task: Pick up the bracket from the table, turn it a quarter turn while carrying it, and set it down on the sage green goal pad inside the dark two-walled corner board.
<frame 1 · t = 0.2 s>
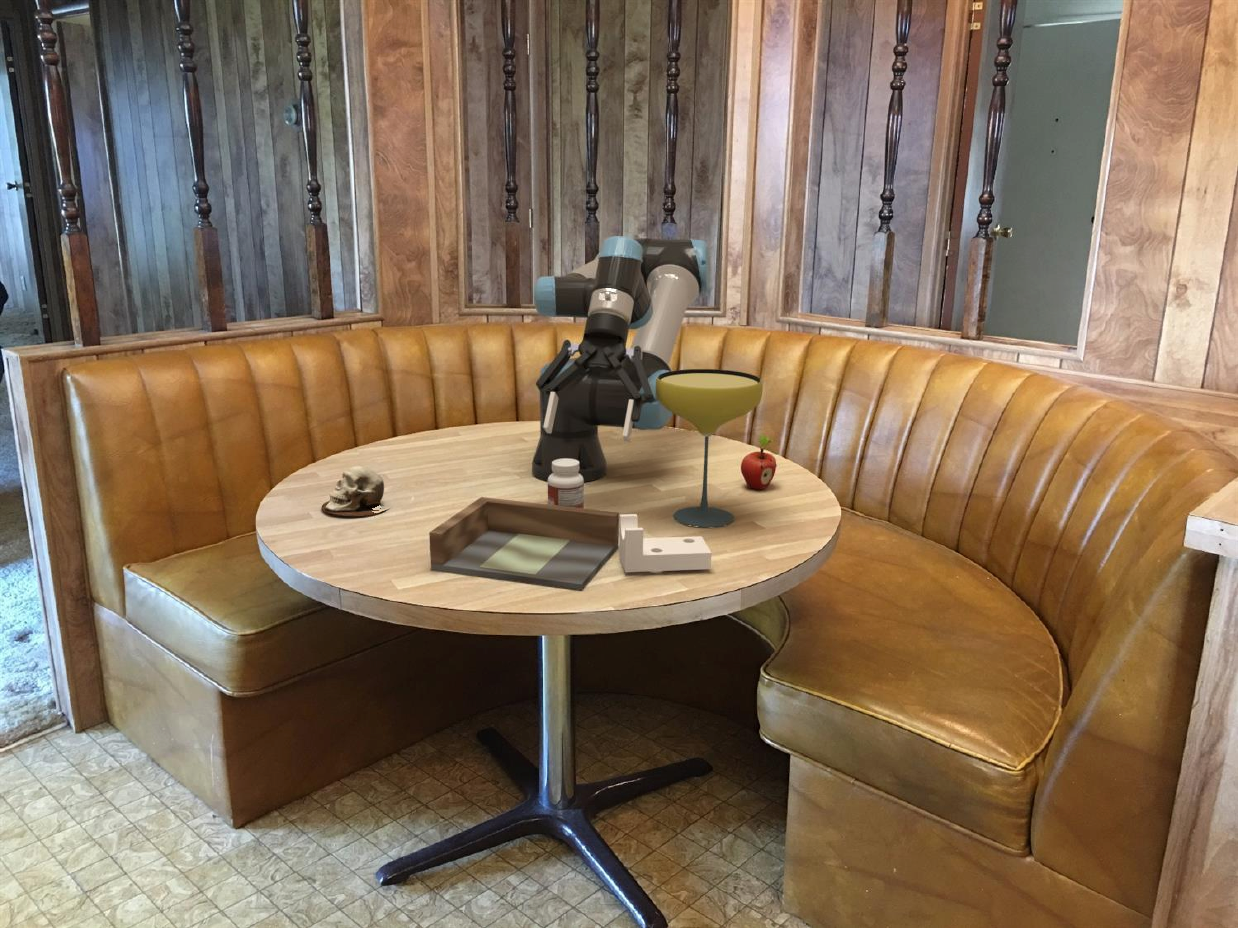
hand: (586, 434, 155), 16 cm above the table, tool tilted 35°, fingers open, 13 cm apart
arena: (527, 558, 145), on the table
skull: (356, 509, 167), on the table
apple: (756, 488, 182), on the table
cocktail glass: (703, 518, 164), on the table
bracket: (664, 568, 143), on the table
pill bottle: (565, 524, 161), on the table
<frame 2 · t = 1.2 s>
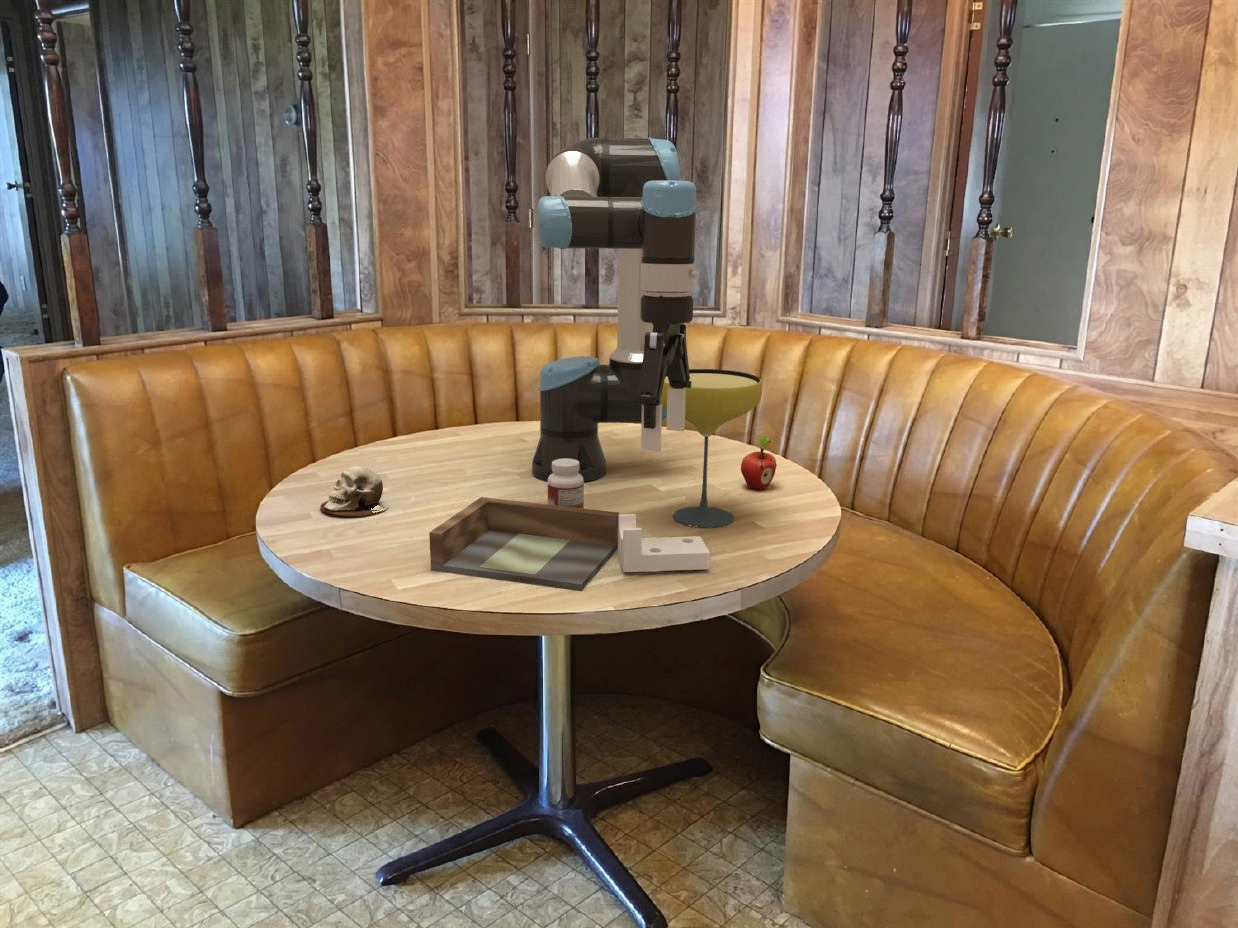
hand: (663, 439, 137), 20 cm above the table, tool pointing down, fingers open, 13 cm apart
nothing on the table moved.
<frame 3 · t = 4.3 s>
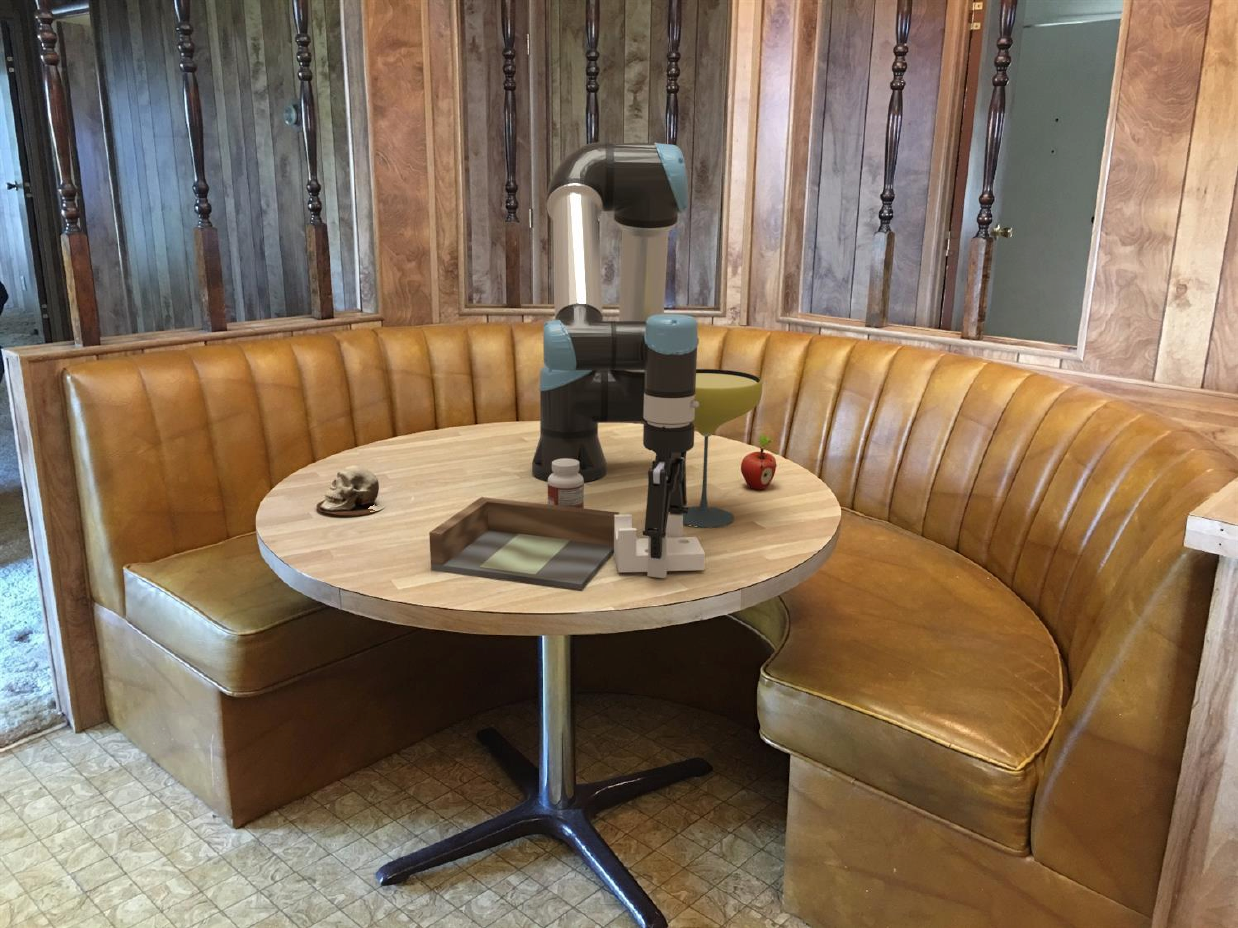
hand: (665, 564, 143), 0 cm above the table, tool pointing down, fingers open, 9 cm apart
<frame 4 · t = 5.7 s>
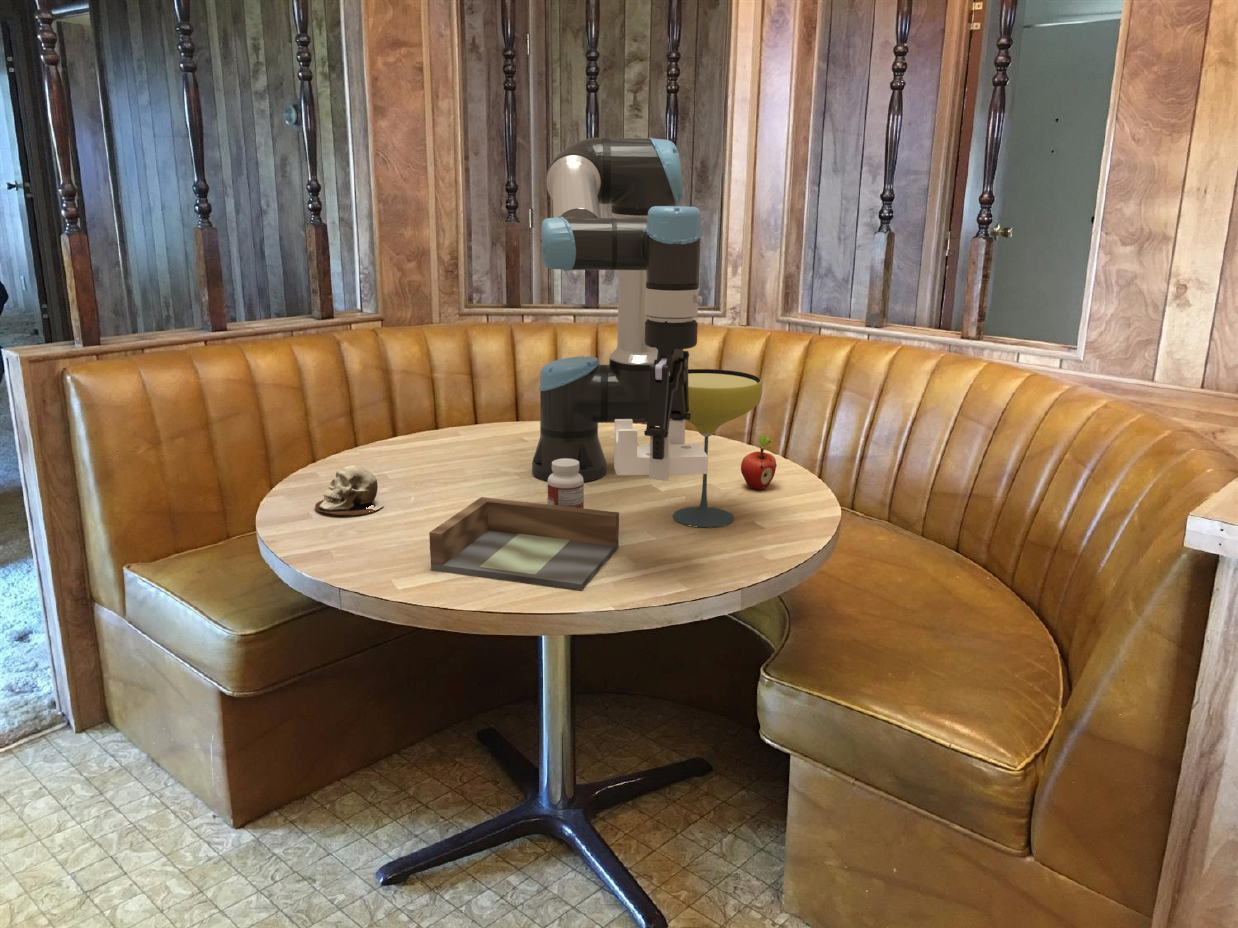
hand: (667, 470, 138), 15 cm above the table, tool pointing down, fingers closed on bracket, 9 cm apart
bracket: (659, 475, 139), point 15 cm above the table, touching gripper
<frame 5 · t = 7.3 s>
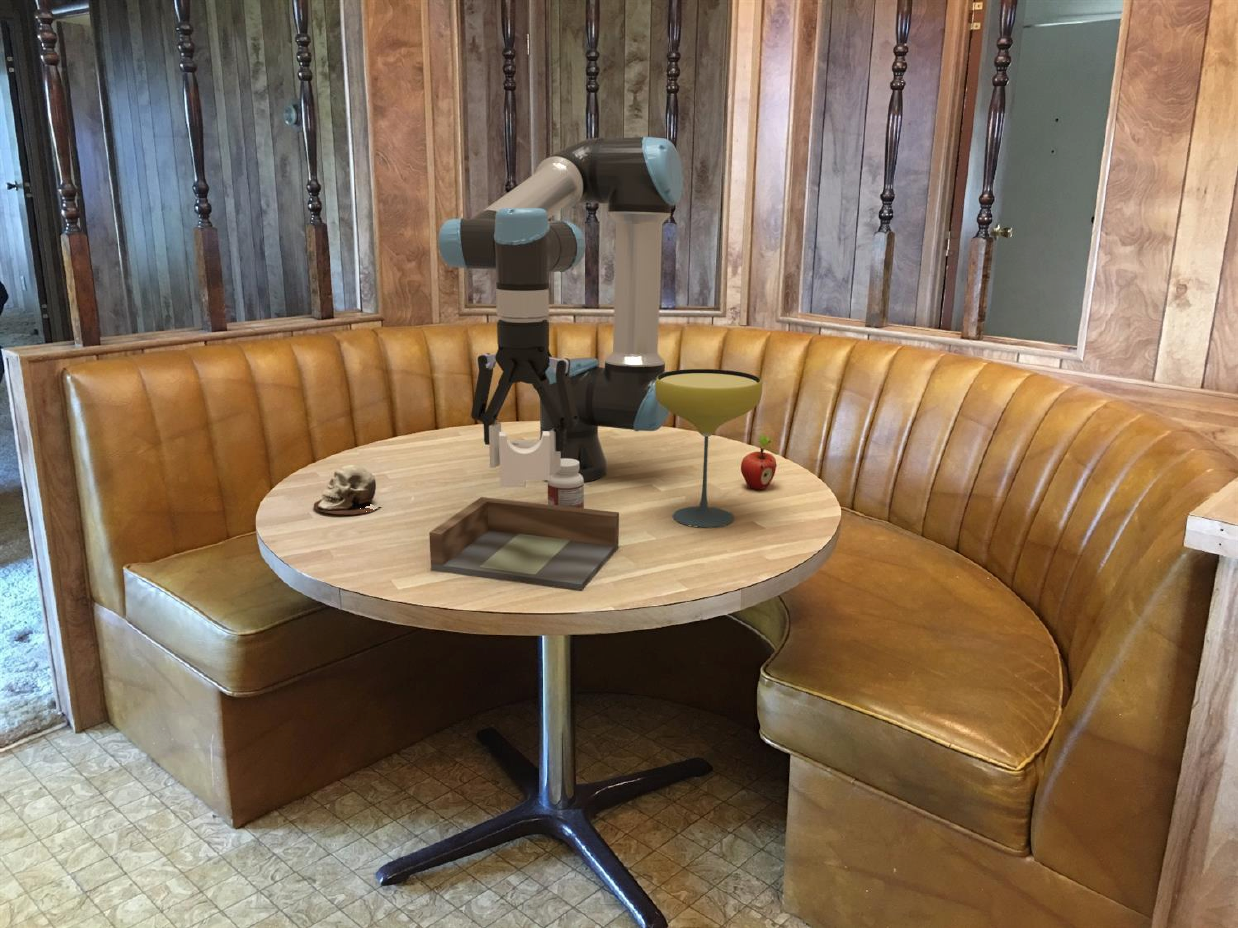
hand: (525, 468, 140), 15 cm above the table, tool pointing down, fingers closed on bracket, 9 cm apart
bracket: (525, 475, 139), point 14 cm above the table, touching gripper
when the fingers open (2 cm above the table, at t = 10.1 s): bracket stays where it is, resting on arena.
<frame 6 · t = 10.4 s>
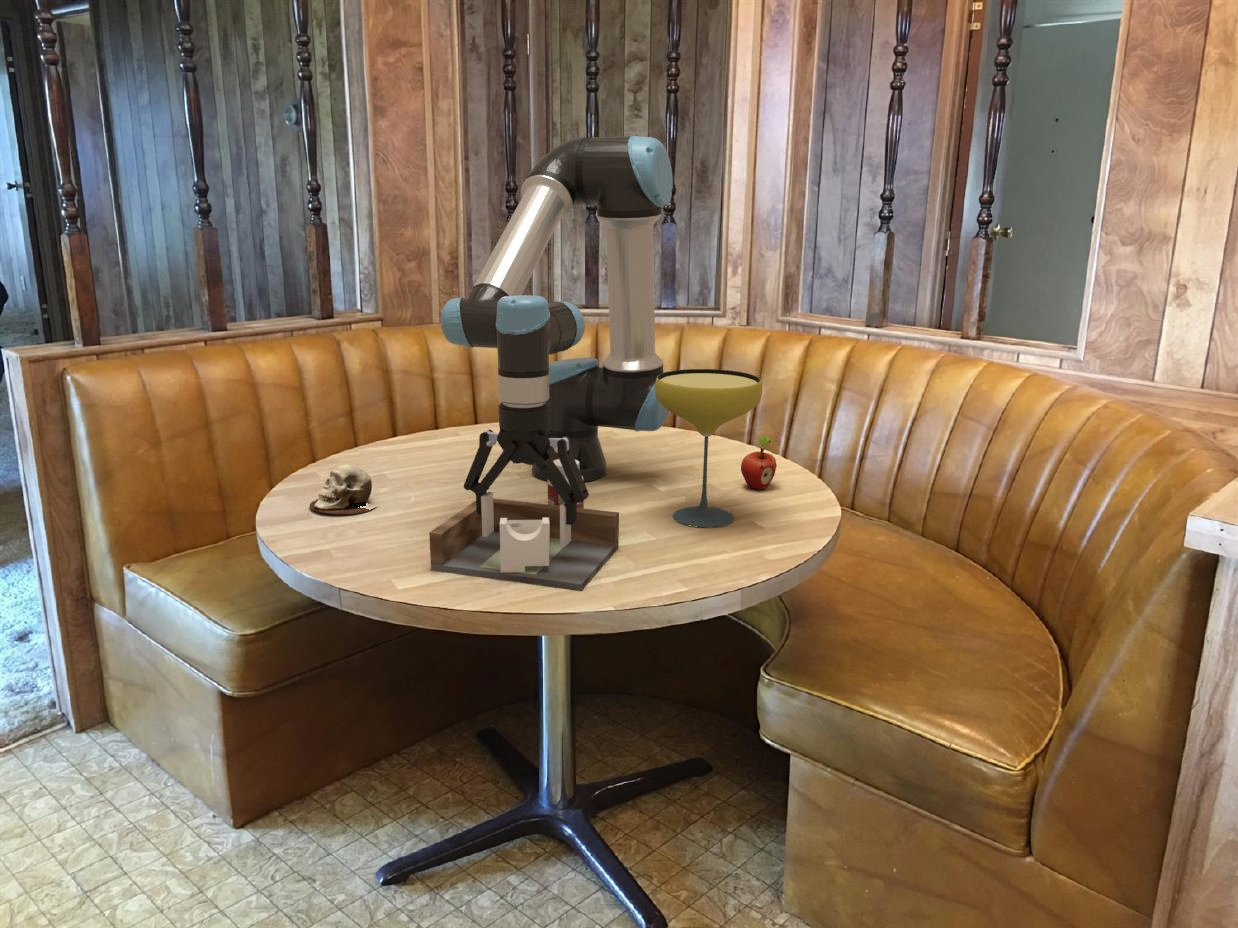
hand: (526, 538, 143), 3 cm above the table, tool pointing down, fingers open, 12 cm apart
bracket: (526, 557, 143), point 1 cm above the table, touching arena
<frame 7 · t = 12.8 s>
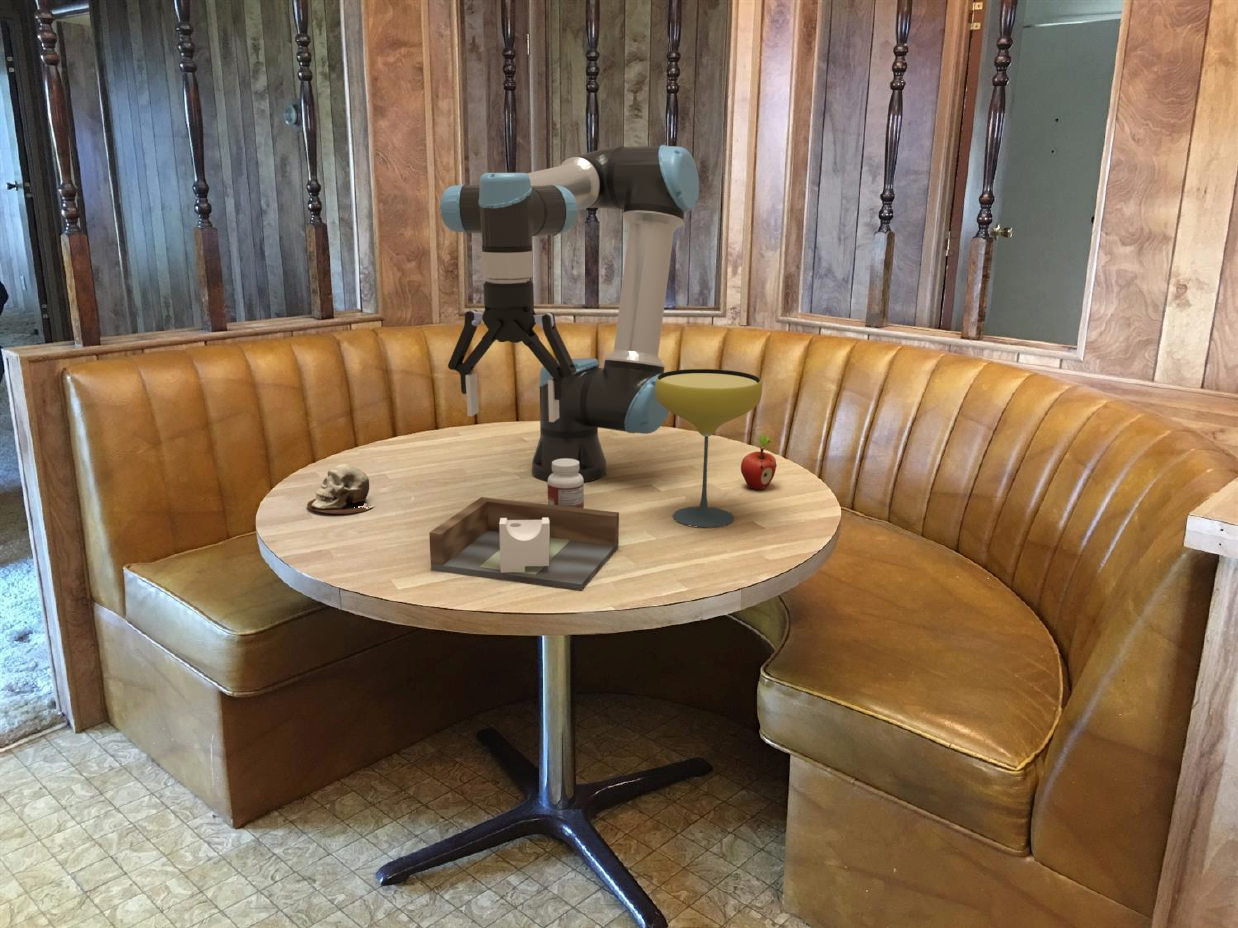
hand: (513, 417, 146), 21 cm above the table, tool pointing down, fingers open, 13 cm apart
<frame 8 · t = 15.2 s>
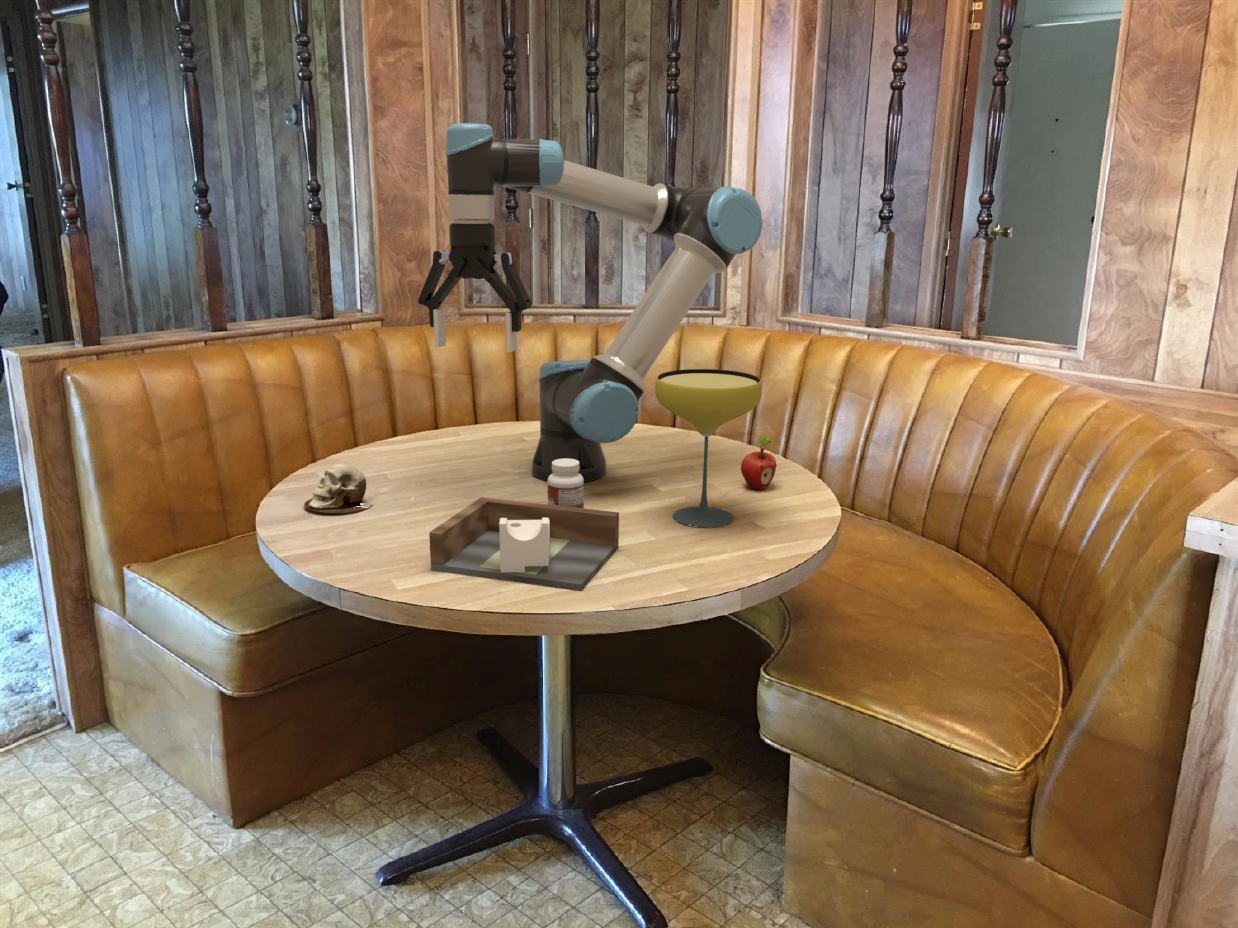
hand: (475, 348, 161), 29 cm above the table, tool pointing down, fingers open, 13 cm apart
at the end: bracket 1.1 cm off-centre on the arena, point 0.9 cm above the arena's base; bracket tilted 0°; the gripper is holding nothing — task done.
